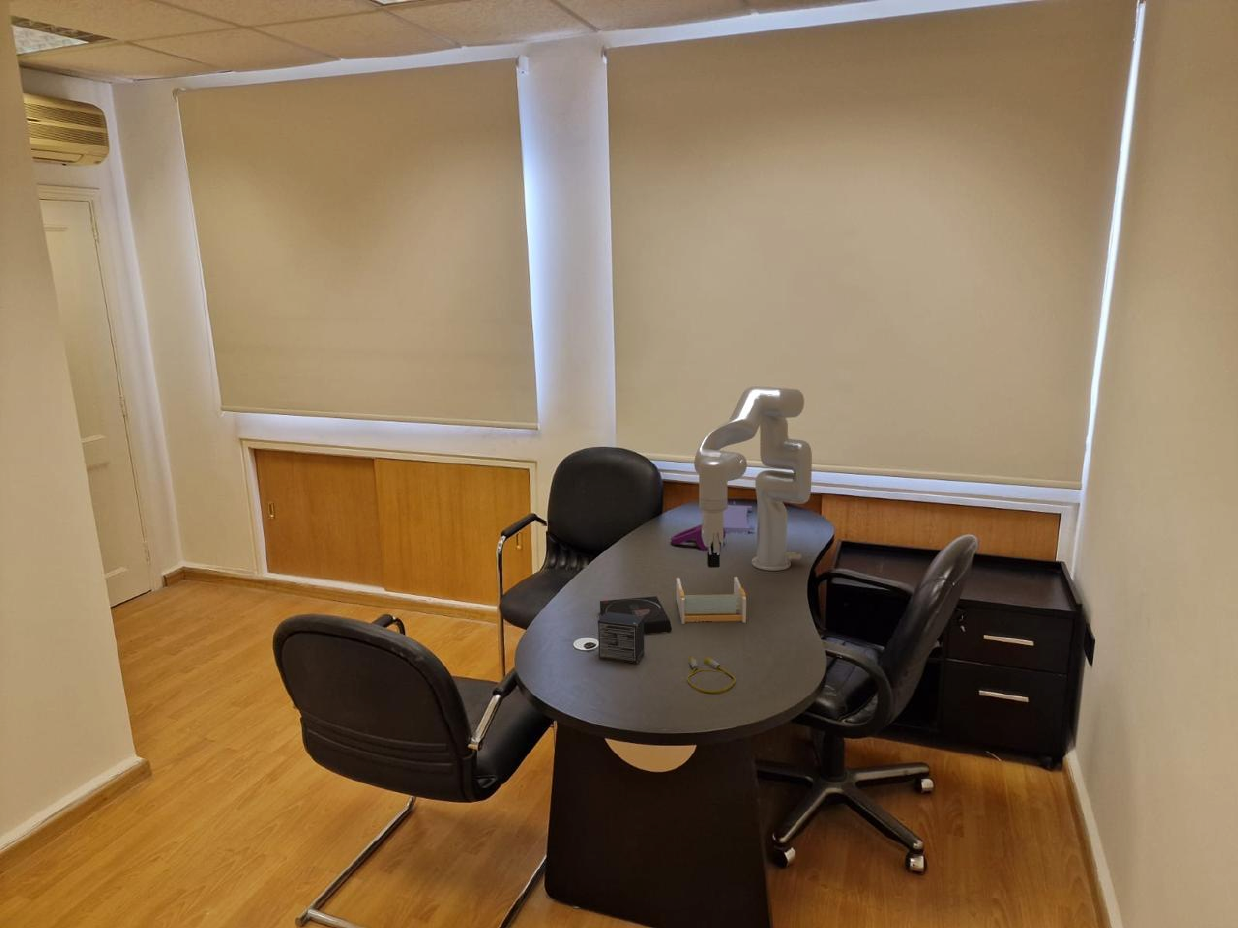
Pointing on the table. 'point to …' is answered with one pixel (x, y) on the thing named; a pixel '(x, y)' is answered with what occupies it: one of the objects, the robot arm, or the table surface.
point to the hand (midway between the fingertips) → (713, 566)
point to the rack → (739, 610)
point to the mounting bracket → (692, 537)
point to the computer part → (736, 519)
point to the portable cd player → (641, 612)
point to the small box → (621, 637)
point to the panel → (710, 605)
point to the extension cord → (712, 664)
